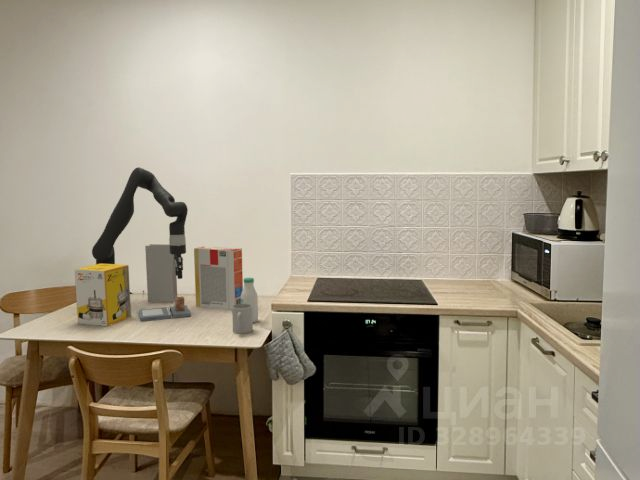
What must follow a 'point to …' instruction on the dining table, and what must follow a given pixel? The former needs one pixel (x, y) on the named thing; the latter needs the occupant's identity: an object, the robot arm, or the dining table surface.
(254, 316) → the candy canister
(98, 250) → the robot arm
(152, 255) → the plain grey carton
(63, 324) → the dining table surface
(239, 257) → the pasta box
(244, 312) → the mug
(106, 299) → the packaging box
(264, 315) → the dining table surface
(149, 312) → the blue-grey display panel
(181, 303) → the blue-grey two-tone fixture
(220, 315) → the dining table surface
